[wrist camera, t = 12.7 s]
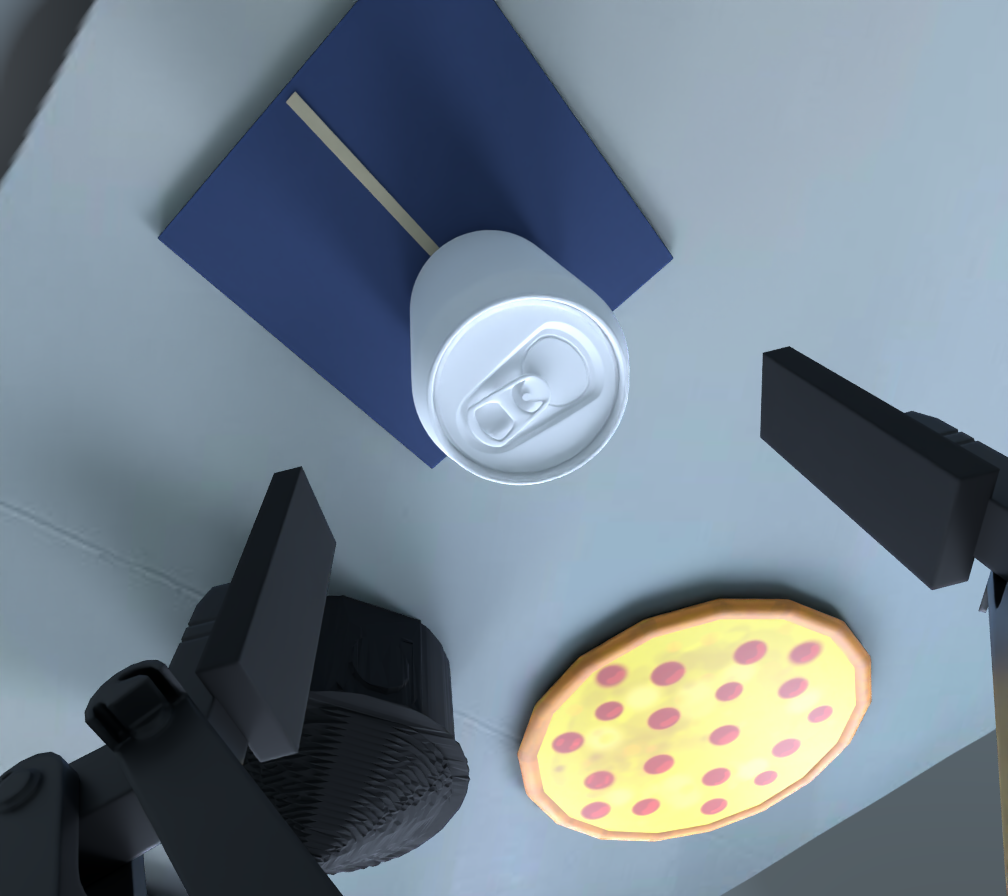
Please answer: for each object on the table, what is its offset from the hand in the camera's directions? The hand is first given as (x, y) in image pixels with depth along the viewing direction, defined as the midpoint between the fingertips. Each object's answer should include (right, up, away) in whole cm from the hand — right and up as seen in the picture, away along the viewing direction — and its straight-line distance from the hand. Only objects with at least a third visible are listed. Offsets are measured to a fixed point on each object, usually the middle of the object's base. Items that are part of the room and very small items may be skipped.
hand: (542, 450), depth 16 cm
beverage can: (-2, +8, +14) cm, 16 cm away
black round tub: (-14, -17, +27) cm, 34 cm away
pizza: (+16, -25, +35) cm, 46 cm away
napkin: (-5, +10, +13) cm, 17 cm away
